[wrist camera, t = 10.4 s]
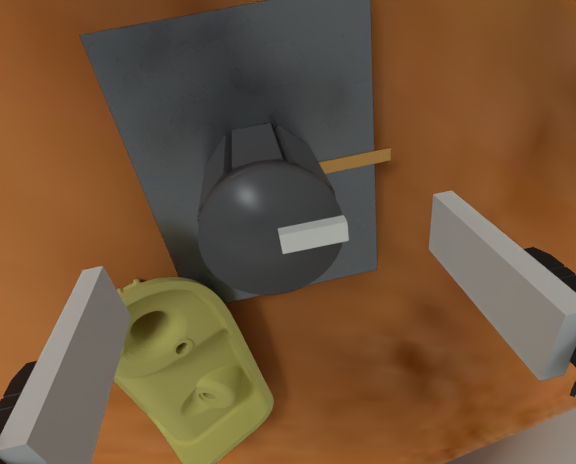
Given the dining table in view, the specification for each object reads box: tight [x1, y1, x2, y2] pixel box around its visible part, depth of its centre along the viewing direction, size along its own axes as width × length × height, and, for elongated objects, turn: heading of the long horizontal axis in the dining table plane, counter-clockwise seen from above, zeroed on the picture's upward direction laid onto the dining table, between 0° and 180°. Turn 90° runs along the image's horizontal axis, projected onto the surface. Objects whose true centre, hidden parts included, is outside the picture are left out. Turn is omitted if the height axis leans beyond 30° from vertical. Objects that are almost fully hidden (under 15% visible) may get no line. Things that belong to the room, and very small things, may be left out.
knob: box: [197, 123, 349, 295], centre depth 19 cm, size 7×7×7 cm
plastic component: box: [113, 277, 274, 464], centre depth 28 cm, size 20×7×10 cm
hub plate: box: [79, 0, 391, 303], centre depth 21 cm, size 18×15×6 cm
